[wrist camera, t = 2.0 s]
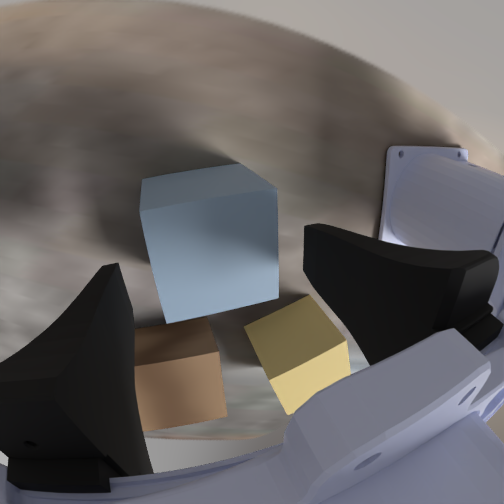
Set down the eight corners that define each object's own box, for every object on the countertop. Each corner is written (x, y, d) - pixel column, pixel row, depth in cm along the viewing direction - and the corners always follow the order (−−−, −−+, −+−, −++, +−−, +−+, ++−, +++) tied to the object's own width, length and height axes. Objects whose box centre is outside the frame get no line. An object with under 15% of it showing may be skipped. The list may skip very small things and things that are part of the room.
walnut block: (206, 313, 19) (219, 351, 16) (215, 381, 23) (227, 416, 20) (100, 331, 17) (97, 371, 14) (129, 396, 21) (132, 432, 18)
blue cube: (239, 162, 15) (277, 188, 11) (245, 248, 18) (278, 298, 14) (142, 178, 14) (139, 211, 10) (159, 266, 17) (166, 323, 12)
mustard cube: (308, 293, 21) (346, 340, 17) (319, 337, 24) (351, 381, 19) (243, 325, 20) (269, 380, 16) (263, 366, 23) (287, 415, 19)
